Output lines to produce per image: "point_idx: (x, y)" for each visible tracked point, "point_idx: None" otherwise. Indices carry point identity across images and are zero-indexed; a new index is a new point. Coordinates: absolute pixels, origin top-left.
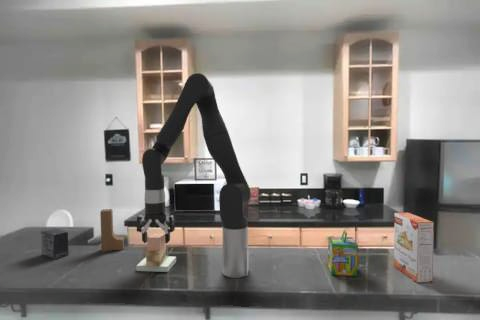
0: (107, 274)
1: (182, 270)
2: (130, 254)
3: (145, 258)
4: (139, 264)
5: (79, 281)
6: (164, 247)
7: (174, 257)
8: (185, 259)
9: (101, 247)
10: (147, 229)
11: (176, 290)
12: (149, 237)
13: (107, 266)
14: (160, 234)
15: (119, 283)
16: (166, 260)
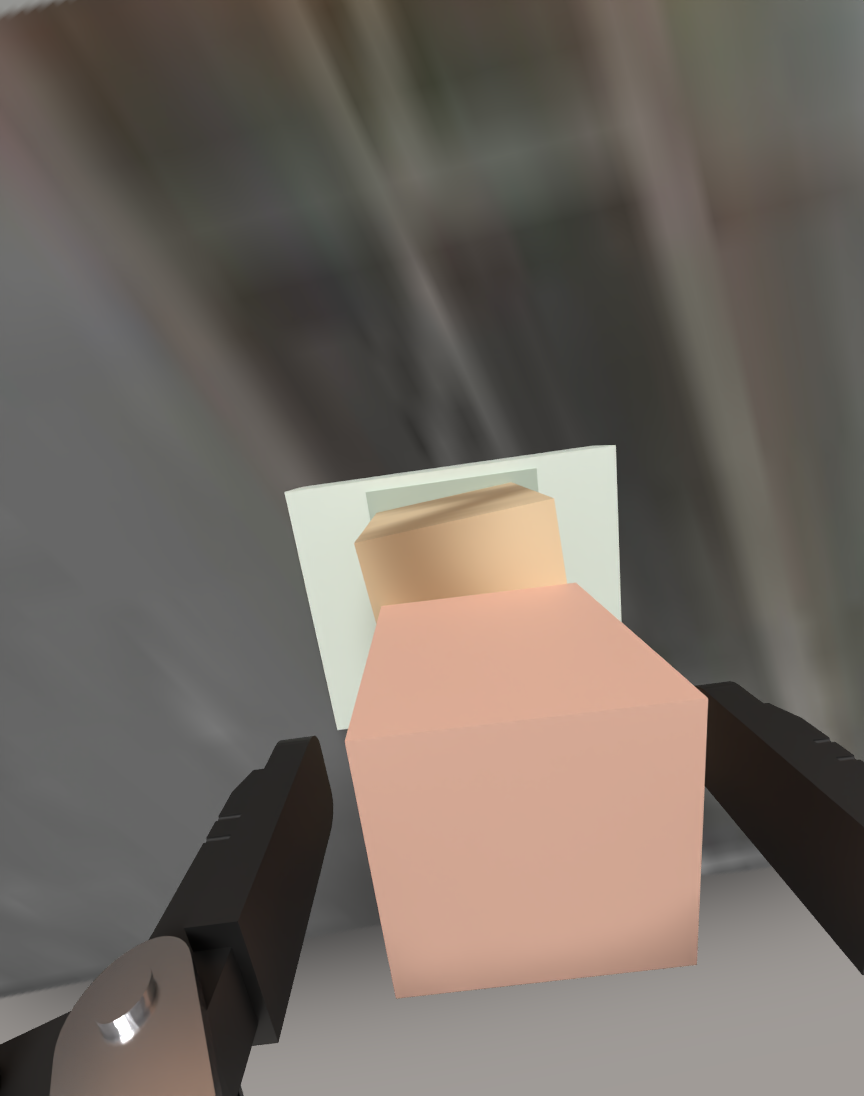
0: (174, 794)
1: (711, 614)
2: (4, 368)
3: (314, 568)
4: (348, 704)
5: (83, 906)
6: (560, 576)
7: (606, 475)
8: (668, 371)
9: None
10: (208, 1043)
11: (753, 869)
12: (450, 989)
13: (47, 681)
14: (611, 771)
15: (357, 874)
16: None
